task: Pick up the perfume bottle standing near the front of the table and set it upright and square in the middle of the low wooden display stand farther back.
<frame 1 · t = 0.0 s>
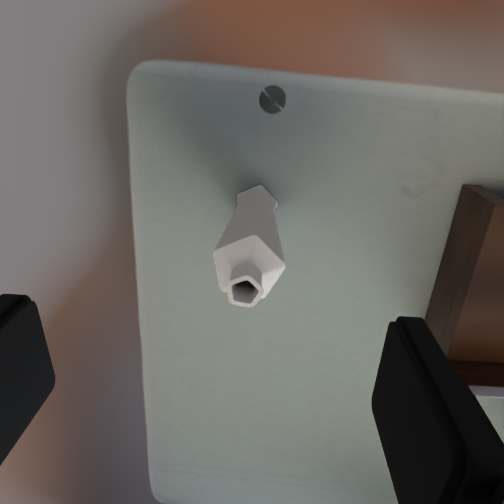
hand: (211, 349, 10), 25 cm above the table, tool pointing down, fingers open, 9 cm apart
perfume bottle: (254, 206, 35), on the table
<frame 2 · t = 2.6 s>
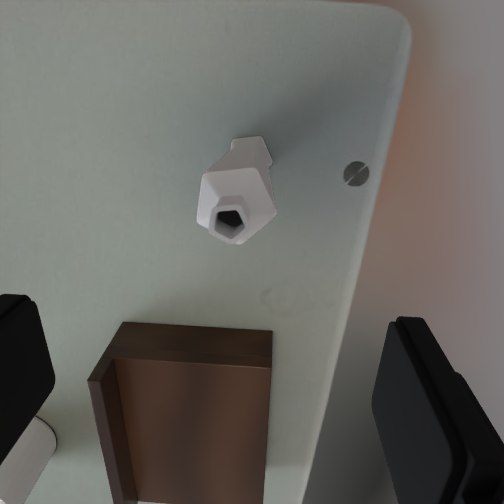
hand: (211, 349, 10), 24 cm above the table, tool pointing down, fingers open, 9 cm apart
mug: (13, 431, 50), on the table
wooden display stand: (200, 401, 45), on the table
perfume bottle: (247, 155, 32), on the table
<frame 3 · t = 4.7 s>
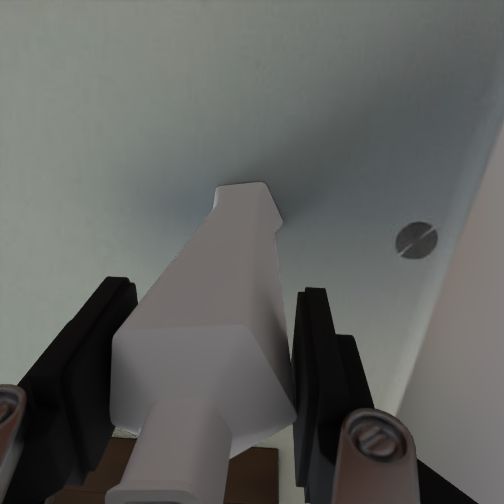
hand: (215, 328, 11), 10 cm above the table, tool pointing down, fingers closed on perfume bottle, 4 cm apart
perfume bottle: (242, 211, 20), on the table, touching gripper
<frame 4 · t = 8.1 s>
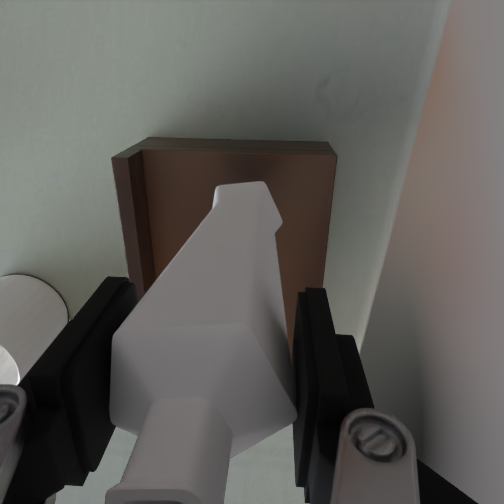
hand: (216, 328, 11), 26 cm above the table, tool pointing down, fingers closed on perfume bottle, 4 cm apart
mug: (17, 305, 43), on the table
wooden display stand: (237, 251, 38), on the table
perfume bottle: (242, 211, 20), point 16 cm above the table, touching gripper
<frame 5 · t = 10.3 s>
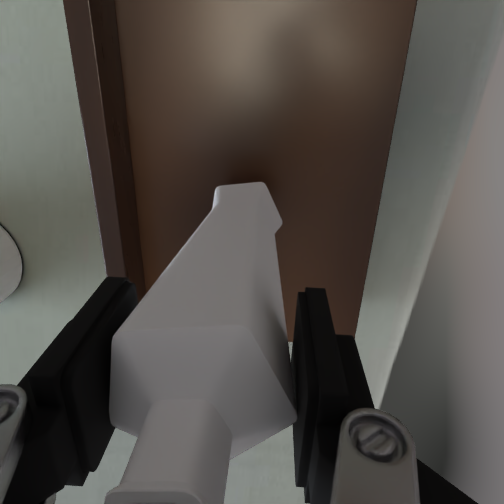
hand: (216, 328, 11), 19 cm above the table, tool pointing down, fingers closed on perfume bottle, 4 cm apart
wooden display stand: (251, 171, 28), on the table
perfume bottle: (242, 211, 20), point 9 cm above the table, touching gripper
when the fingers open (15 cm above the table, at t = 11.6 s): perfume bottle stays where it is, resting on wooden display stand.
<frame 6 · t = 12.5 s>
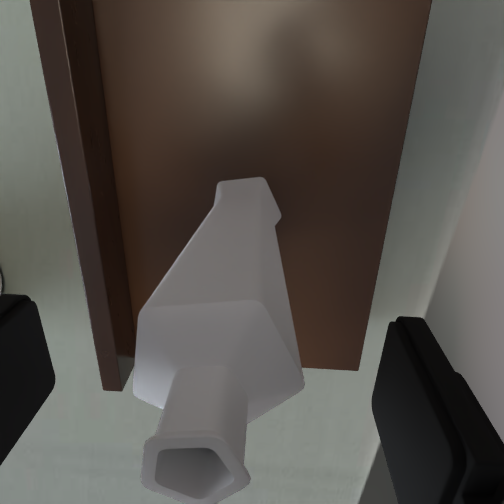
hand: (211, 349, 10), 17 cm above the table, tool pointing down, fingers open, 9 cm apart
wooden display stand: (247, 181, 26), on the table
perfume bottle: (242, 205, 21), point 5 cm above the table, touching wooden display stand
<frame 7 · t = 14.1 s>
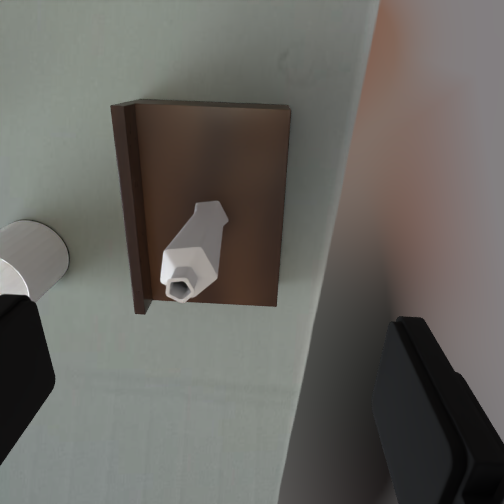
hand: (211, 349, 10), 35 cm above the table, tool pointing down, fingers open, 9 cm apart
mug: (25, 249, 50), on the table
wooden display stand: (214, 200, 45), on the table
perfume bottle: (208, 214, 41), point 5 cm above the table, touching wooden display stand
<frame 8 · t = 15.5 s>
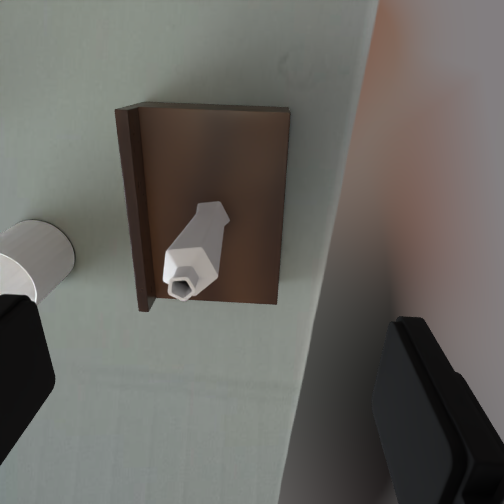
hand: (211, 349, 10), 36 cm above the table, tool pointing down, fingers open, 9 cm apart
mug: (32, 248, 51), on the table
wooden display stand: (216, 200, 46), on the table
perfume bottle: (210, 215, 42), point 5 cm above the table, touching wooden display stand
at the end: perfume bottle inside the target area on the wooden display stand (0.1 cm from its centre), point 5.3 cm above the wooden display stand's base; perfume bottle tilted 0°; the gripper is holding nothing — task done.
